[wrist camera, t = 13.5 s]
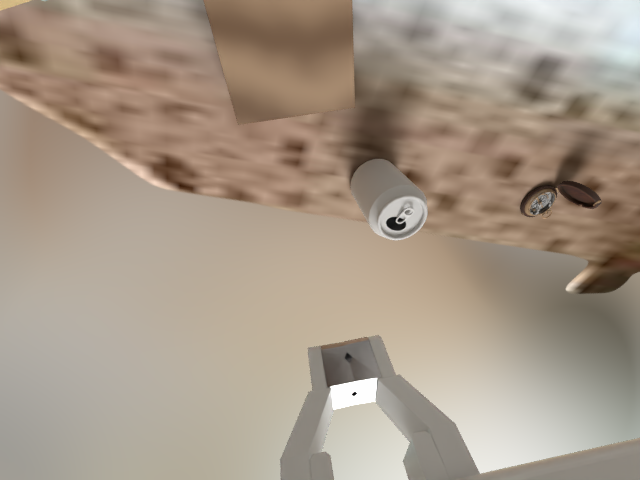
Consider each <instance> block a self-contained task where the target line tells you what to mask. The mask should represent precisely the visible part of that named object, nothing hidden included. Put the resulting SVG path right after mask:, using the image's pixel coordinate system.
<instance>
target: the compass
mask: <svg viewBox="0 0 640 480" xmlns="http://www.w3.org/2000/svg"><path fill="white" fill-rule="evenodd" d="M557 192H560V193H561V194H562V195H563V196H564V197H565V198H566V199H568V200H569V201H571V202H573V203H575V204H577V205H582V207H585V208H589V209H594V208H596V207H597V206H599V205H600V204H601V199H600V197H599V196H598V195H597V194H596V193H595V192H594V191H593V190H591V189H590V188H588V187H586V186H584V185H582V184H580V183H577V182H573V181H563V182H562V183H560V184H559V185H558V187H556V188H554V187H552V186H549V185H545V186H541V187H538V188H536V189H534V190H533V191H531V192H530V193H529V194H528V195H527V196H526V197H525V198H524V200H523V202H522V204H521V212H522V214H524V215H525V216H527V217H535V216H538V215H540V214H542V213H543V214H548V212H547V211H551V210H549V209H550V208H551V207H552V205H553V204H554V202H555V200H556V197H557ZM543 214H542V218H543ZM551 214H552V211H551ZM551 214H550V215H551ZM550 215H549V216H550ZM549 216H548V217H549ZM548 217H546V218H548Z"/></svg>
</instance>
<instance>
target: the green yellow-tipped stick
mask: <svg viewBox="0 0 640 480" xmlns="http://www.w3.org/2000/svg"><path fill="white" fill-rule="evenodd" d="M28 1H32V0H0V10H3V9H7V8H10V7H13V6H16V5H19V4H22V3H25V2H28ZM42 1H47V0H42Z"/></svg>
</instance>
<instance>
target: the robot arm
mask: <svg viewBox="0 0 640 480" xmlns="http://www.w3.org/2000/svg"><path fill="white" fill-rule="evenodd" d="M308 357H309V366H310V374H311V383H312V391H310V392H308V395H307V397H306V399H305V402H304V404H303V407H302V409H301V411H300V414H299V416H298V419H297V421H296V423H295V426H294V428H293V431H292V433H291V436H290V438H289V440H288V442H287V445H286V447H285V450H284V452H283V455H282V457H281V459H280V465H281V480H334V476H333V470H332V463H331V457H330V455H329V454H328V453H326V452H321V451H322V448H323V445H324V441H325V438H326V435H327V431H328V428H329V425H330V421H331V418H332V415H333V411H334V409H337V408H341V407H345V406H349V405H354V404H360V403H365V402H372V401H375V403H376V404H377V405H378V406H379V407H380V408H381V409H382V411H383V412H384V413H385V414H386V415H387V416H388V418H389V419H390V420H391V421H392V422H393V423H394V425H395V426H396V427H397V428H398V429H399V430H400V431H401V432H402V434H403V435H404V436H405V437H406V438H407V440H408V441H409V442H410V444H409V447H408V449H407V452H406V454H405V457H404V460H403V463H404V466H405V469H406V473H407V476H408V479H409V480H640V438H637V439H632V440H627V441H623V442H618V443H614V444H610V445H605V446H601V447H596V448H592V449H588V450H583V451H579V452H574V453H570V454H565V455H561V456H557V457H552V458H548V459H543V460H539V461H534V462H530V463H526V464H521V465H517V466H512V467H508V468H503V469H499V470H495V471H490V472H486V473H482V474H480V473H479V471H478V469H477V467H476V465H475V463H474V461H473V459H472V457H471V455H470V453H469V451H468V449H467V447H466V445H465V443H464V441H463V439H462V436H461V434H460V432H459V430H458V428H457V426H456V424H455V423H454V422H452V420H450V419H449V418H448V417H447V416H446V415H445V414H444V413H443V412H441V411H440V410H439V409H438V408H437V407H436V406H435V405H434V404H432V403H431V402H430V401H429V400H428V399H427V398H426V397H424V396H423V395H422V394H421V393H420V392H419V391H418V390H416V389H415V388H414V387H413V386H412V385H411V384H410V383H409V382H407V381H406V380H405V379H404V378H403V377H402V376H401V375H396V374H395V372H394V369H393V366H392V364H391V361H390V359H389V356H388V353H387V351H386V348H385V346H384V343H383V341H382V338H381V337H380V336H379V335H376V336H371V337H364V338H359V339H354V340H350V341H344V342H339V343H334V344H328V345H322V346H316V347H310V348H308Z"/></svg>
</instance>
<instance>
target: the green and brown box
mask: <svg viewBox="0 0 640 480" xmlns="http://www.w3.org/2000/svg"><path fill="white" fill-rule="evenodd" d="M204 4H205V8H206V11H207V15H208V18H209V22H210V26H211V29H212V33H213V36H214V40H215V44H216V47H217V51H218V54H219V58H220V62H221V65H222V69H223V72H224V76H225V80H226V83H227V87H228V91H229V94H230V98H231V101H232V105H233V109H234V112H235V116H236V119H237V123H238V125H241V124H247V123H254V122H261V121H268V120H274V119H281V118H288V117H295V116H301V115H308V114H315V113H322V112H328V111H335V110H342V109H348V108H355V92H354V53H353V14H352V0H204Z"/></svg>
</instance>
